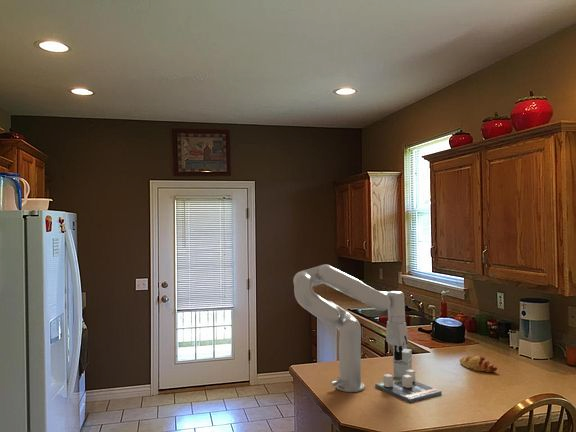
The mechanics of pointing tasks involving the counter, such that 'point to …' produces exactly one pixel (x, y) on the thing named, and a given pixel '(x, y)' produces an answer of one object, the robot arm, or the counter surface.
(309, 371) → the counter surface
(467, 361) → the croissant
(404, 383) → the block
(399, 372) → the supplement box
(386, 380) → the block
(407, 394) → the panel
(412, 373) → the block
